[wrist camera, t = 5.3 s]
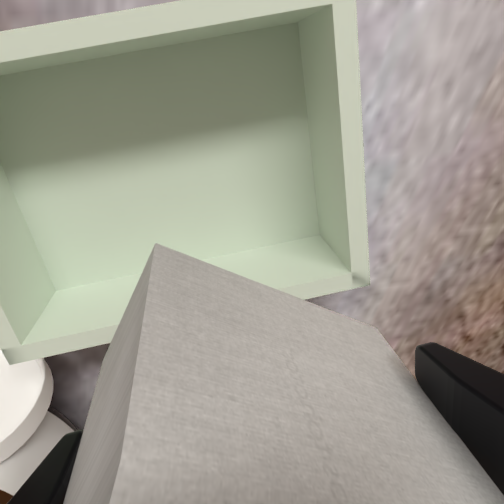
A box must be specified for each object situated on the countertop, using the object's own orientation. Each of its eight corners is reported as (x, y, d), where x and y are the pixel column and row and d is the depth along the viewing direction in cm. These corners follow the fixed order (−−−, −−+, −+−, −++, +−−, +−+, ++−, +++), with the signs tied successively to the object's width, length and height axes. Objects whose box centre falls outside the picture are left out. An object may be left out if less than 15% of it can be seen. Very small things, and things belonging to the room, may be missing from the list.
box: (333, 242, 22) (370, 285, 17) (48, 303, 21) (9, 365, 17) (311, -2, 17) (354, -30, 13) (-59, 64, 16) (-156, 58, 12)
